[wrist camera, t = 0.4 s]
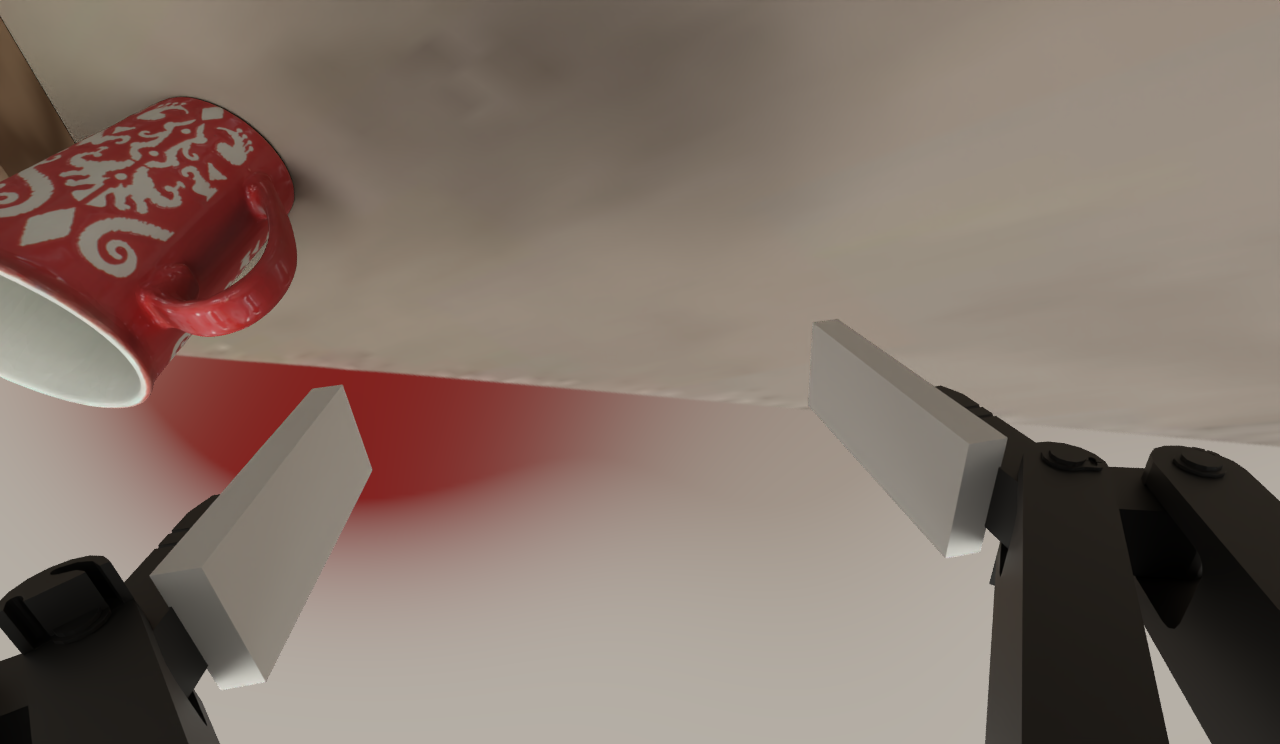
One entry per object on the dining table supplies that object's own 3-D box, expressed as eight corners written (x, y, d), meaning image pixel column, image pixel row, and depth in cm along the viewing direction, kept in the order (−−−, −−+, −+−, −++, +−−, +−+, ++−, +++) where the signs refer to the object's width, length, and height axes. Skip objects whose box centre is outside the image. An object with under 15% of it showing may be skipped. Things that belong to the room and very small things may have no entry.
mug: (190, 225, 34) (-3, 397, 25) (87, 67, 27) (-229, 225, 18) (393, 250, 33) (271, 432, 25) (341, 96, 27) (147, 271, 18)
